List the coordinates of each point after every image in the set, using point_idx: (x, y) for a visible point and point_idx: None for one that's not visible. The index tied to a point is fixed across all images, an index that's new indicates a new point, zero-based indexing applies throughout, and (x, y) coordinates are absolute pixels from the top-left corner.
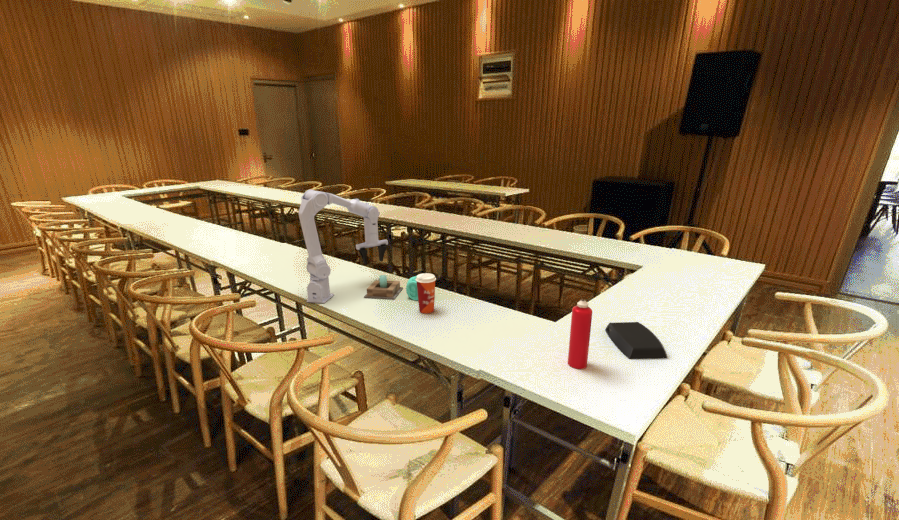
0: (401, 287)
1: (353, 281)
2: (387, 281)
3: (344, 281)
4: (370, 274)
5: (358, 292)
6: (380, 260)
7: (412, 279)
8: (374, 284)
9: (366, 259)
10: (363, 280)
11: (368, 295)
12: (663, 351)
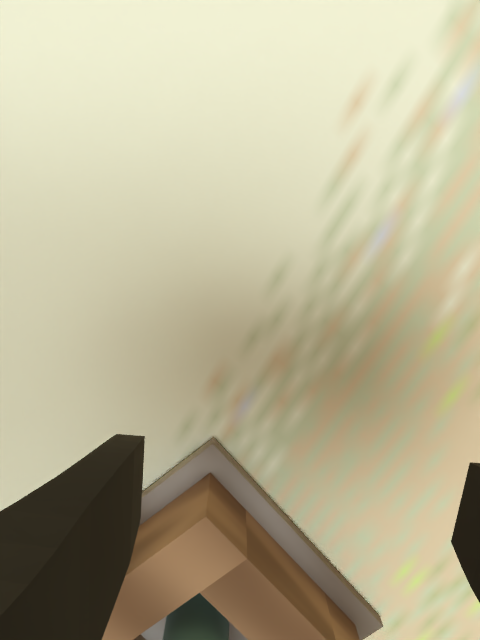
0: (370, 623)
1: (120, 135)
2: (281, 620)
3: (32, 55)
4: (408, 37)
5: (28, 458)
6: (466, 511)
7: None
8: (130, 612)
9: (92, 635)
10: (226, 186)
11: None
12: None
